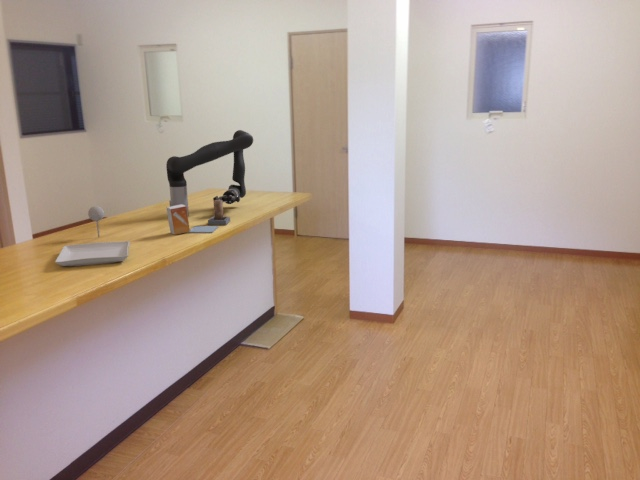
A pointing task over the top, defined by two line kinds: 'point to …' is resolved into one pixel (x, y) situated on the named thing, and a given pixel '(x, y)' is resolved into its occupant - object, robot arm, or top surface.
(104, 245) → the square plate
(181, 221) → the small box
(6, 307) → the top surface
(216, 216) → the plug
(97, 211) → the lollipop
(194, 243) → the top surface
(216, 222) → the socket
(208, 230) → the mat
